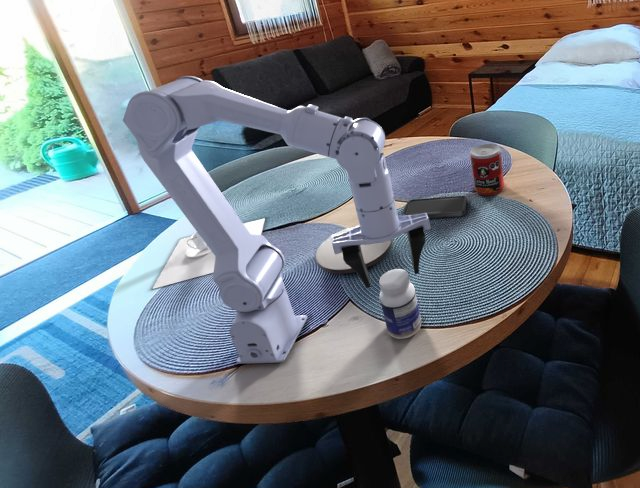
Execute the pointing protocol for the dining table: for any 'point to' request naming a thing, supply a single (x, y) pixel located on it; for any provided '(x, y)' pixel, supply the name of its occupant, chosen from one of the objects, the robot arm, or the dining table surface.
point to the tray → (335, 261)
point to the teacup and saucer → (195, 257)
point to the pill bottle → (399, 304)
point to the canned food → (487, 169)
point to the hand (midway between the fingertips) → (392, 276)
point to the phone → (437, 207)
